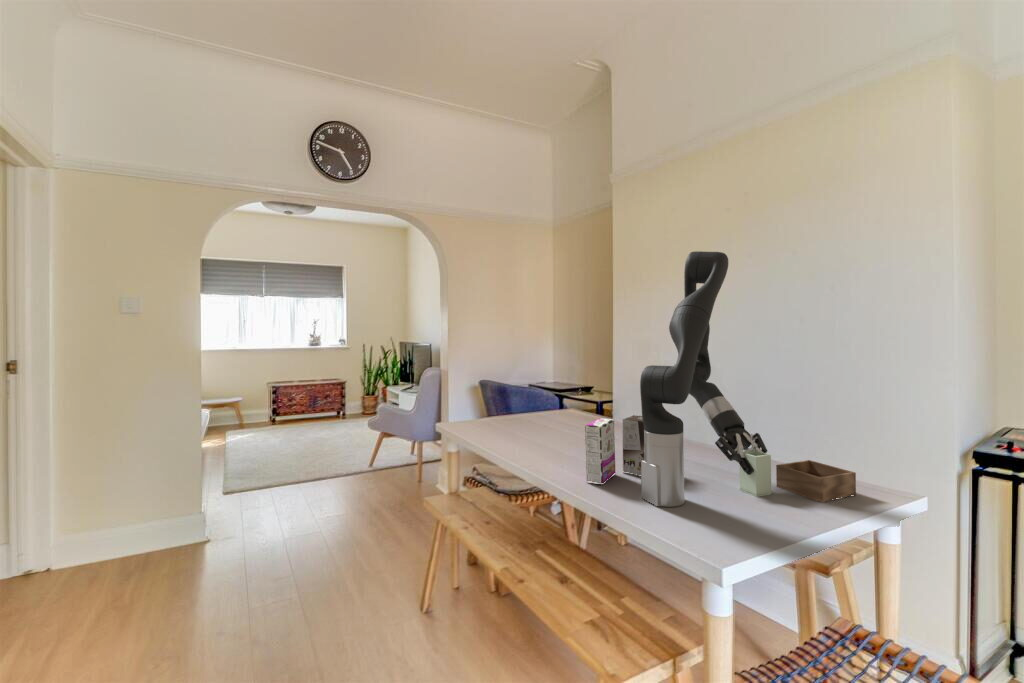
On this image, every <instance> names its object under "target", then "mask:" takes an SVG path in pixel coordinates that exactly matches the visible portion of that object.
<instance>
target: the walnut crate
mask: <svg viewBox="0 0 1024 683" xmlns="http://www.w3.org/2000/svg"><path fill="white" fill-rule="evenodd" d="M775 476H776V488H778V489H782V490H785V491H787V490H788V492H790V491H791V492H790V493H792V494H793V493H794V494H797V495H799V496H801V495H802V497H803V498H807V499H811V500H813V501H816V502H818V501H820V502H819V503H821V502H822V503H825V502H824V501H827V502H829V501H828V500H832V499H836V498H841V497H847V496H851V495H856V494H857V477H856V476H857V473H856V472H854V471H851V470H847V469H844V468H841V467H836V466H832V465H829V464H825V463H822V462H817V461H813V460H810V459H806V460H800V461H794V462H787V463H780V464H776V474H775ZM856 496H857V495H856ZM847 498H848V497H847ZM832 501H833V500H832Z"/></svg>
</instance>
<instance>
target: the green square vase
mask: <svg viewBox="0 0 1024 683" xmlns="http://www.w3.org/2000/svg"><path fill="white" fill-rule="evenodd" d="M743 452H744V455H745V457H744V458H747V460H748V461H749V463H750V464H751V466H752V467H753V469H754V472H753V473H752V474H750V475H747V473H746V472H744V470H743V469H742V467H741V466H740V465H739V491H740V490H741V492H744V493H745V492H746V493H745V494H748V495H751V496H753V497H756V498H758V497H764V496H768V495H772V454H769V453H762V452H759V451H755V450H752V451H744V450H743Z"/></svg>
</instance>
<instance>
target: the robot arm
mask: <svg viewBox="0 0 1024 683" xmlns="http://www.w3.org/2000/svg"><path fill="white" fill-rule="evenodd" d="M728 268H729V257H728V255H727V254H726V253H724V252H721V251H701V250H700V251H699V250H698V251H691V252H689V254H687V256H686V259H685V263H684V272H683V273H684V274H683V275H684V276H683V278H684V281H683V282H684V283H683V284H684V285H683V286H684V288H683V290H684V299H682V300H680V302H679V303H678V304H677V305H676V307H674V308H675V309H674V311H673V314H672V317H671V319H670V321H669V326H668V331H669V334H670V338H671V339H672V342H673V343H674V346H675V348H676V351H677V354H678V356H677V360H676V363H675V364H674V365H653V364H652V365H647V366H645V367H644V368H643V370H642V372H641V375H640V380H639V383H640V384H639V392H640V402H641V403H640V404H641V416H642V419H643V423H644V460H642V461H641V476H640V477H641V478H640V479H641V480H640V482H641V485H640V486H641V488H640V489H641V493H640V494H641V499H642V498H643V499H642V500H644V499H645V500H644V501H646V500H647V501H646V502H648V503H649V502H650V503H649V504H651V503H652V504H651V505H653V504H654V505H653V506H655V507H657V506H658V507H666V508H668V507H679V506H682V505H684V503H685V452H684V451H685V447H684V445H685V444H684V443H685V441H684V440H685V439H684V437H685V436H684V435H685V434H684V433H685V432H684V422H683V420H682V419H681V418H680V417H678V416H676V415H674V414H672V413H671V412H670V411H668V410H667V409H666V408H665V407H664V405H663V404H666V405H682V404H684V403H685V402H686V400H687V399H688V397H689V395H690V396H692V397H693V398H694V399H695V400H696V403H697V404H698V406H699V408H701V411H702V412H703V414H704V416H705V418H706V419H707V421H708V423H709V424H710V426H711V427H712V428H713V430H714V432H715V434H716V435H717V436H718V437H719V438H718V439H717V440H716V441H715V442H714V445H716V447H717V448H718V449H719V450H720V452H722V453H723V455H724V456H726V458H727V459H728V461H731V462H732V461H735V462H736V463H738V464H739V467H740V466H741V467H742V469H743V470H744V472H746V473H747V475H750V474H752V473H753V472H754V469H753V467H752V466H751V464H750V463H749V461H748V460H747V458H744V457H745V455H744V451H752V450H755V451H759V452H762V453H766V454H768V452H769V451H768V448H767V446H766V444H765V442H764V441H763V439H762V437H761V434H760V433H758V432H756V433H754V434H752V433H749V432H748V431H747V430H746V429H745V422H744V421H743V419H742V418H741V417H740V415H739V413H738V412H737V411H736V409H735V408H734V407H733V405H732V404H731V403H730V402H729V401H728V399H727V398H726V397H725V395H724V394H723V393H722V392H721V390H720V389H719V387H718V386H717V385H716V384H715V383H712V382H708V380H709V379H710V376H711V373H712V366H711V360H710V354H709V348H708V347H709V340H710V330H711V328H710V320H711V317H712V314H713V309H714V305H715V303H716V300H717V298H718V296H719V292H720V290H721V288H722V286H723V284H724V281H725V279H726V276H727V272H728ZM697 284H702V285H701V286H700V287H699V288H698V289H697Z"/></svg>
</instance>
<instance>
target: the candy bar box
mask: <svg viewBox="0 0 1024 683" xmlns="http://www.w3.org/2000/svg"><path fill="white" fill-rule="evenodd" d="M584 428H585V429H584V430H585V431H584V432H585V455H586V456H585V460H586V461H585V464H586V482H587V481H592V482H597V483H604V482H605V481H606V480H607V479H609V478H610V477H611V476H612V475H613V474H614V473H616V450H615V449H616V446H615V442H616V441H615V440H616V439H615V419H613V418H605V417H604V418H603V417H602V418H600V417H599V418H597V419H595V420H593V421H591V422H589V423H587V424H585V425H584ZM609 480H610V479H609Z"/></svg>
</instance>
